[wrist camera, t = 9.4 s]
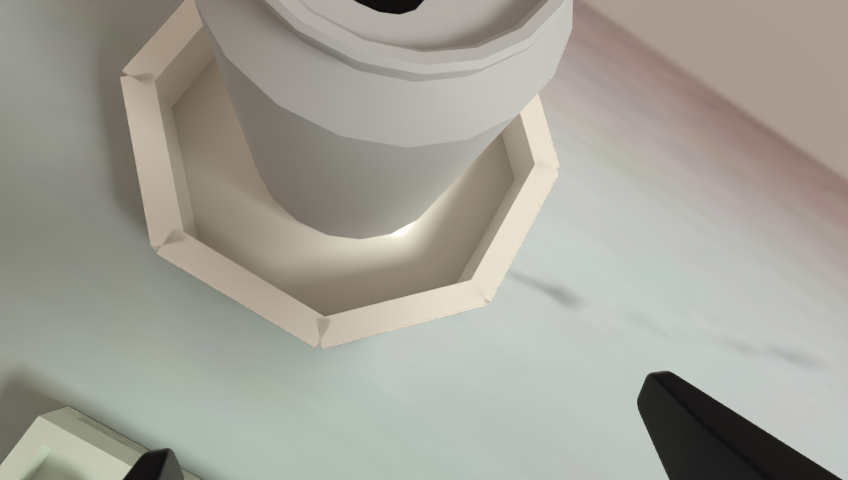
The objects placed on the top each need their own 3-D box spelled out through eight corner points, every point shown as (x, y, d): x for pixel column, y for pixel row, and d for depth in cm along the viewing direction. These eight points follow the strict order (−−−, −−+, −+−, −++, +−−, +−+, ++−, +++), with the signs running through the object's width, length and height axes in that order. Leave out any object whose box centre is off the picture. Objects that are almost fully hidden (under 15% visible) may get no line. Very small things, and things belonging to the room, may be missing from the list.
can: (212, 126, 18) (30, -228, 6) (369, 31, 20) (441, -366, 9) (337, 283, 18) (376, 205, 6) (481, 171, 20) (704, -38, 9)
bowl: (414, 404, 18) (430, 416, 16) (69, 199, 17) (26, 176, 15) (572, 114, 22) (604, 87, 20) (299, -71, 21) (297, -126, 18)
